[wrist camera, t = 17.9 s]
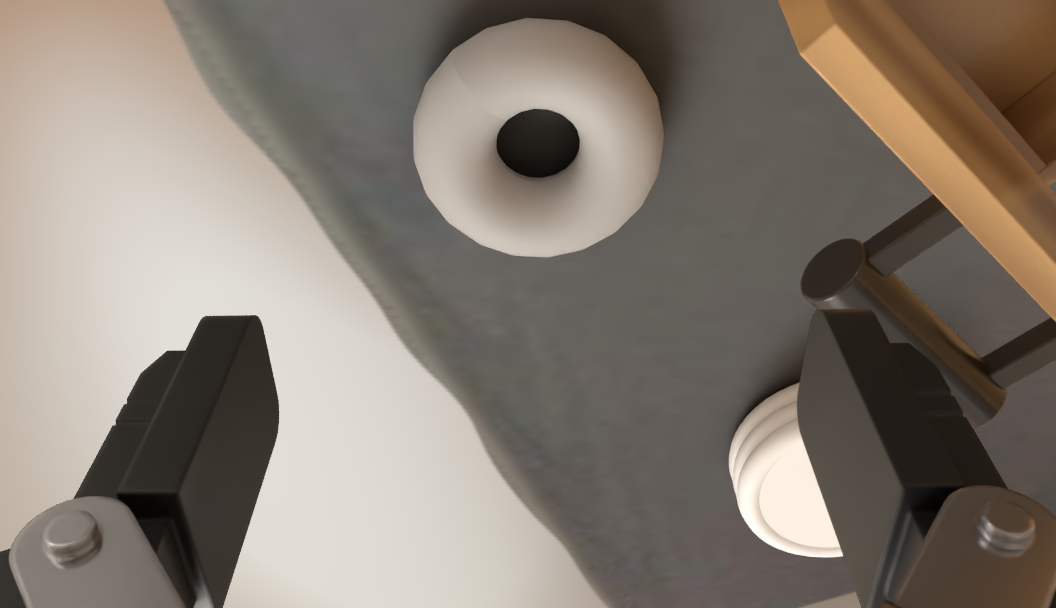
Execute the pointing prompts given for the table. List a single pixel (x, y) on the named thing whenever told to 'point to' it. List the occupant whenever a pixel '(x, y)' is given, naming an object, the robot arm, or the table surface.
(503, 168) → the donut
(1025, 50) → the wooden box
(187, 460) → the robot arm
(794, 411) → the coaster
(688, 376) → the table surface
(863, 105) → the lid
